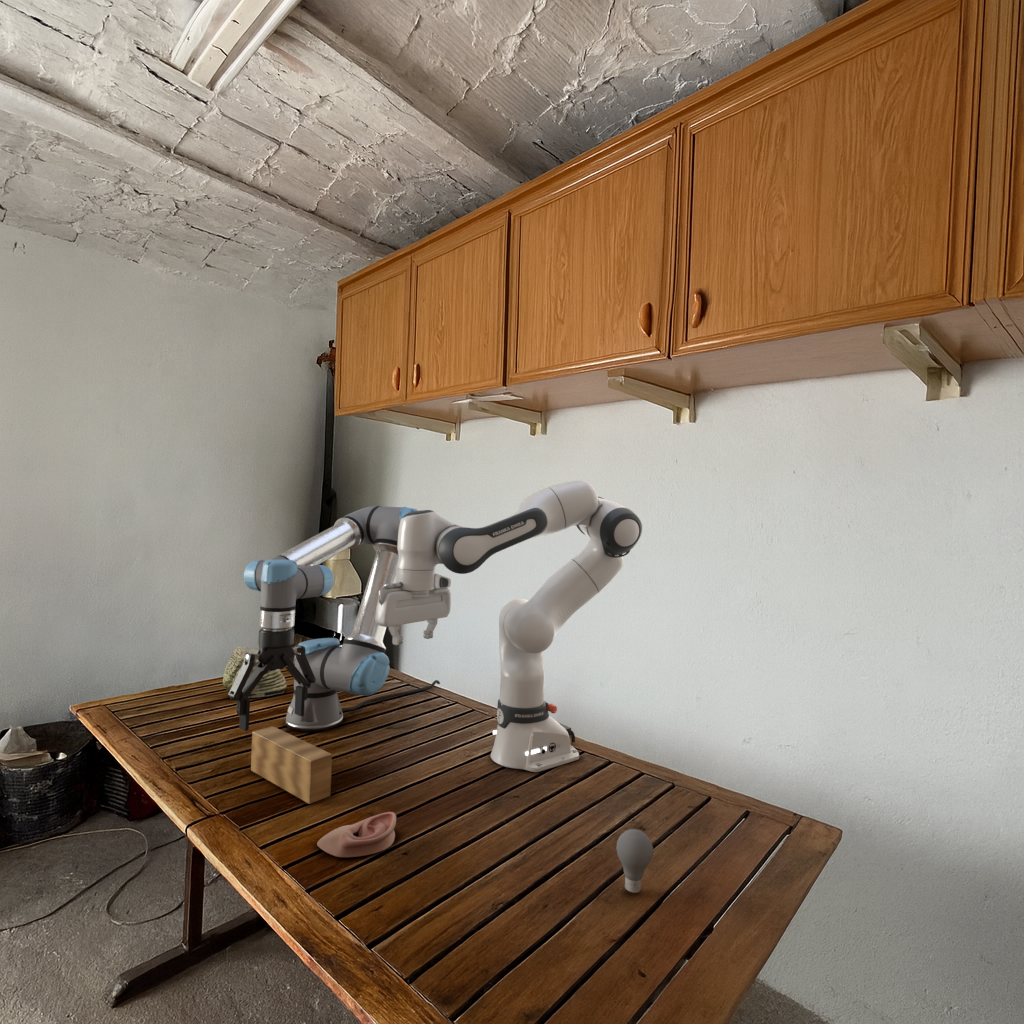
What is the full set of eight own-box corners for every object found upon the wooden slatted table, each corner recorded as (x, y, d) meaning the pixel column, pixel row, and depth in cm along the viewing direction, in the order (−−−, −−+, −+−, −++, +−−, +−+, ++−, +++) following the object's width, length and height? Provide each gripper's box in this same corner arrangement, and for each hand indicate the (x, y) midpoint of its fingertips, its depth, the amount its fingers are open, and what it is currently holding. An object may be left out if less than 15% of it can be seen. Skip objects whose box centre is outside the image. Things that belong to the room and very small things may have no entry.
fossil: (218, 695, 195) (220, 647, 195) (278, 685, 208) (279, 640, 207) (228, 703, 189) (230, 653, 188) (289, 692, 201) (290, 645, 201)
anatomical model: (309, 830, 112) (339, 800, 124) (308, 852, 113) (338, 821, 124) (379, 841, 110) (403, 810, 121) (378, 864, 110) (402, 831, 121)
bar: (250, 770, 145) (252, 731, 145) (271, 763, 149) (272, 725, 149) (309, 804, 130) (311, 761, 130) (330, 795, 134) (332, 754, 134)
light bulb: (610, 879, 108) (613, 822, 108) (644, 879, 109) (647, 822, 109) (619, 902, 102) (622, 840, 102) (655, 901, 103) (658, 840, 103)
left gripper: (231, 638, 131) (227, 740, 131) (333, 624, 151) (329, 713, 151) (214, 632, 136) (209, 730, 136) (314, 619, 155) (310, 705, 156)
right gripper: (389, 586, 134) (386, 650, 135) (456, 579, 150) (453, 637, 151) (370, 582, 138) (367, 645, 139) (437, 576, 154) (435, 632, 155)
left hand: (272, 721), depth 144 cm, fingers open, 13 cm apart
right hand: (413, 641), depth 145 cm, fingers open, 8 cm apart
